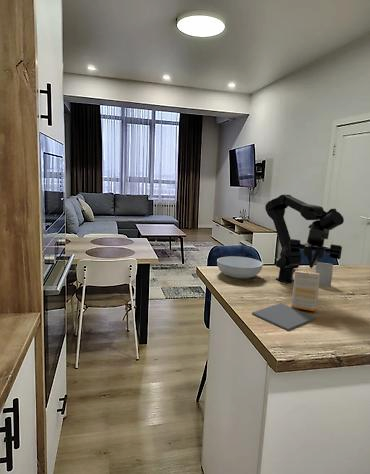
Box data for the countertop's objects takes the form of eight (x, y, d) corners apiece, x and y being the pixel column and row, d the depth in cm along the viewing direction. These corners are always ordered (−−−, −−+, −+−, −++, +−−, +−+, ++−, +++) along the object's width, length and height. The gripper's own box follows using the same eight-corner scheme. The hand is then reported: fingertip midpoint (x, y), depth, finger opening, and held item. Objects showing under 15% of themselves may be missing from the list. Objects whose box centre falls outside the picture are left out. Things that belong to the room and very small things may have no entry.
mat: (280, 304, 121) (280, 303, 121) (316, 318, 110) (316, 317, 110) (251, 314, 111) (252, 312, 111) (287, 330, 100) (288, 328, 100)
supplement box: (314, 309, 118) (319, 273, 118) (315, 312, 114) (320, 274, 113) (290, 305, 121) (295, 269, 121) (290, 307, 116) (295, 270, 116)
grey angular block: (330, 287, 145) (333, 265, 143) (314, 285, 147) (317, 263, 145) (329, 284, 149) (332, 263, 147) (313, 282, 150) (316, 261, 148)
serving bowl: (245, 268, 168) (247, 255, 166) (270, 281, 148) (272, 266, 147) (208, 270, 160) (209, 256, 159) (229, 284, 141) (230, 268, 140)
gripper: (292, 218, 128) (284, 251, 120) (345, 224, 120) (340, 259, 113) (293, 235, 137) (285, 267, 129) (342, 242, 129) (337, 276, 121)
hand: (310, 267), depth 123 cm, fingers closed
